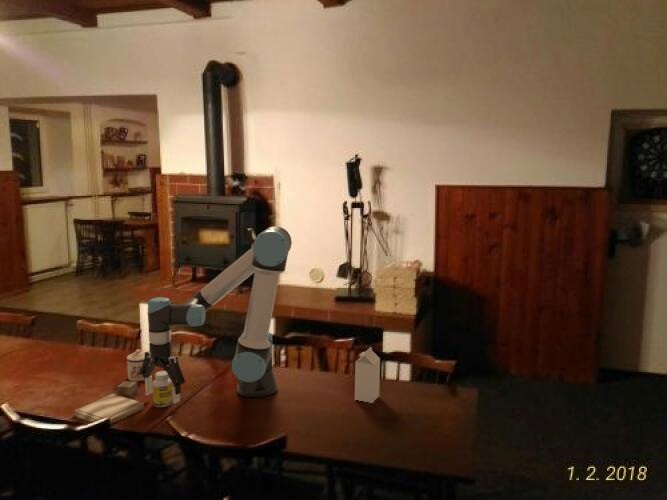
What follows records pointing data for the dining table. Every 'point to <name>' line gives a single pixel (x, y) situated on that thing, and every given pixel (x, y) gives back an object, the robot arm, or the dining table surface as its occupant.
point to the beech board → (109, 408)
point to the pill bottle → (162, 389)
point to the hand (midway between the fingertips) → (162, 398)
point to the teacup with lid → (135, 365)
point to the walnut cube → (127, 389)
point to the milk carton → (367, 377)
